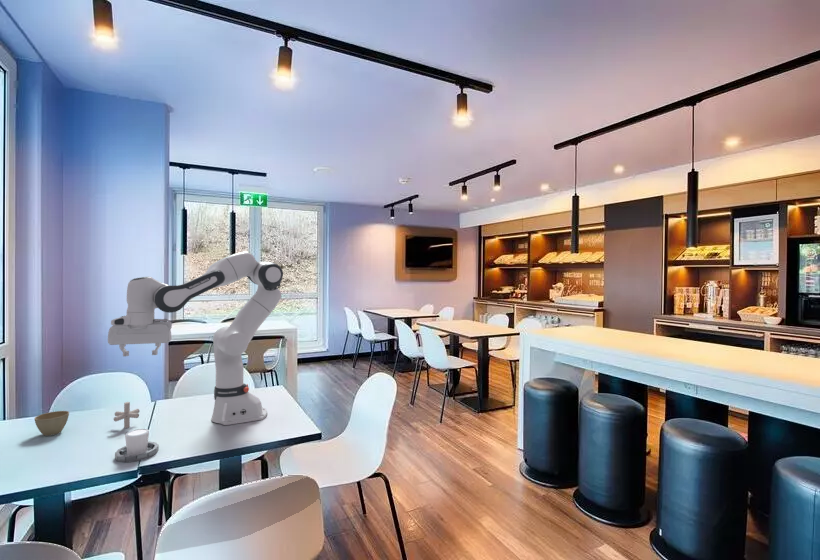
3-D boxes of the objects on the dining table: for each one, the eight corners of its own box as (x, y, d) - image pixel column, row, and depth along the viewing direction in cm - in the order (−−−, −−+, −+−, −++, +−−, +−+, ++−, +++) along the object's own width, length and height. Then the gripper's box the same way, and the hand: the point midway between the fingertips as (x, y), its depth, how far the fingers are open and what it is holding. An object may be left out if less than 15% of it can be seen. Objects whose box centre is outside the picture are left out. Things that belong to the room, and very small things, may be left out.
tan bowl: (68, 426, 160) (68, 408, 160) (70, 433, 153) (70, 415, 153) (34, 433, 154) (34, 414, 153) (34, 441, 146) (34, 421, 146)
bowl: (162, 444, 144) (162, 440, 144) (152, 459, 133) (152, 454, 133) (123, 449, 140) (123, 444, 140) (109, 464, 129) (109, 458, 129)
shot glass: (132, 448, 140) (132, 428, 139) (153, 447, 140) (153, 428, 140) (120, 457, 133) (120, 436, 133) (142, 456, 134) (142, 435, 134)
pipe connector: (126, 433, 154) (126, 407, 154) (104, 430, 156) (105, 405, 156) (147, 423, 164) (147, 399, 164) (127, 421, 166) (127, 398, 166)
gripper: (173, 317, 157) (173, 352, 157) (112, 319, 151) (112, 355, 151) (169, 319, 151) (169, 355, 151) (105, 320, 145) (105, 358, 145)
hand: (140, 355), depth 151 cm, fingers open, 8 cm apart
